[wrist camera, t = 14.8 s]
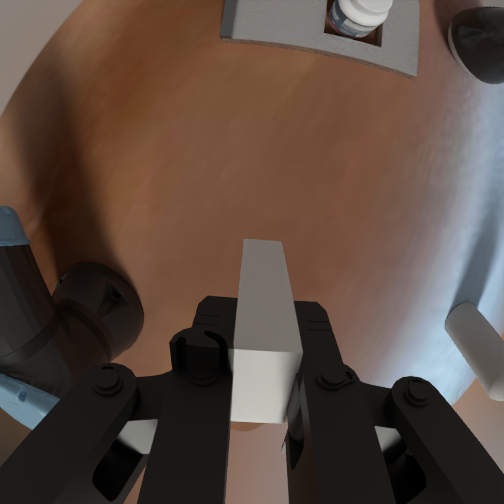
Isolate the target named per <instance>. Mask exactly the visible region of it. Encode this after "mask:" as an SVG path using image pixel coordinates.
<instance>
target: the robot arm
mask: <svg viewBox="0 0 504 504" xmlns="http://www.w3.org/2000/svg"><path fill="white" fill-rule="evenodd" d="M29 244H31V243H30V240H29V239H27V237H26V235H25V232H24V230H23V227H22V225H21V222H20V220H19V217H18V215H17V213H16V212H15V210H14V209H12V208H11V207H8V206H0V407H1V408H2V409H4V410H5V411H6V412H7V413H8V414H10V415H11V416H12V417H13V418H15V419H16V420H18V421H19V422H21V423H22V424H24V425H26V426H27V427H29V428H30V429H32V431H31V432H30V433H29V435H28V436H27V437H26V438H25V439H24V440H23V441H22V443H21V444H20V445H19V446H18V447H17V448H16V449H15V451H14V452H13V453H12V454H11V455H10V456H9V458H8V459H7V460H6V461H5V462H4V464H3V465H2V466H1V467H0V504H123V503H124V501H125V499H126V498H127V496H128V494H129V493H130V491H131V489H132V488H133V486H134V484H135V483H136V481H137V479H138V478H139V476H140V474H141V473H142V471H143V469H144V468H145V466H146V469H145V473H144V477H143V481H142V485H141V489H140V493H139V497H138V501H137V504H225V496H226V495H225V494H226V481H227V466H228V453H229V439H230V423H231V421H240V422H259V423H285V420H286V416H287V418H288V430H287V433H286V436H285V439H284V442H283V445H282V450H281V453H285V451H286V460H287V477H288V494H289V504H504V474H503V472H502V471H501V470H500V469H499V467H498V466H497V464H496V463H495V462H494V460H493V459H492V458H491V456H490V455H489V454H488V452H487V451H486V450H485V448H484V447H483V446H482V445H481V443H480V442H479V441H478V439H477V438H476V437H475V436H474V435H473V433H472V432H471V430H470V429H469V428H468V427H467V425H466V424H465V423H464V422H463V420H462V419H461V418H460V417H459V416H458V414H457V413H456V412H455V411H454V409H453V408H452V407H451V406H450V404H449V403H448V402H447V401H446V400H445V398H444V397H443V396H442V395H441V394H440V392H439V391H438V390H437V389H436V388H435V387H434V386H433V385H432V384H431V383H430V382H429V381H426V380H424V379H422V378H420V377H414V376H408V377H402V378H400V379H399V380H397V381H396V382H395V383H394V385H393V387H392V388H385V387H380V386H374V385H370V384H367V383H363V382H361V381H360V380H359V378H358V376H357V374H356V373H355V371H354V370H352V369H351V368H350V367H349V366H347V365H345V364H343V361H342V358H341V354H340V351H339V348H338V345H337V342H336V339H335V336H334V333H333V332H332V327H331V324H330V321H329V318H328V315H327V312H326V310H325V309H324V308H323V307H322V306H321V305H320V304H319V303H318V302H307V301H293V297H292V292H291V287H290V281H289V276H288V272H287V267H286V262H285V257H284V252H283V247H282V242H280V241H267V240H254V239H244V245H243V254H242V264H241V274H240V283H239V293H238V298H230V297H218V296H207V297H206V298H204V299H203V300H202V301H201V302H200V303H199V304H198V307H197V311H196V315H195V318H194V321H193V325H192V327H191V328H187V329H184V330H182V331H180V332H178V333H177V334H175V335H174V336H173V338H172V339H171V341H170V342H169V345H170V353H171V362H172V370H171V371H169V372H166V373H164V374H161V375H155V376H146V377H136V376H135V375H134V373H133V372H132V370H130V369H129V368H127V367H126V366H124V365H121V364H117V363H110V362H111V361H112V360H114V359H115V358H116V357H118V356H119V355H120V354H121V353H122V352H124V351H125V350H127V349H128V348H130V347H131V346H132V345H133V344H134V343H135V342H136V340H137V338H138V336H139V334H140V333H141V331H142V328H143V323H144V315H143V309H142V306H141V303H140V301H139V299H138V297H137V295H136V293H135V292H134V290H133V289H132V288H131V286H130V285H129V284H128V283H127V282H126V281H125V280H124V279H123V278H122V277H121V276H120V275H118V274H117V273H115V272H114V271H112V270H111V269H109V268H107V267H105V266H102V265H99V264H96V263H80V264H77V265H74V266H73V267H71V268H70V269H69V270H68V271H67V272H66V273H64V274H63V275H62V277H61V278H60V279H59V281H58V283H57V285H56V288H55V290H54V292H53V294H52V297H51V295H50V293H49V290H48V288H47V286H46V284H45V282H44V279H43V277H42V275H41V272H40V270H39V268H38V265H37V263H36V260H35V258H34V255H33V253H32V250H31V248H30V245H29ZM146 464H147V465H146Z"/></svg>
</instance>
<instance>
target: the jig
mask: <svg viewBox="0 0 504 504" xmlns="http://www.w3.org/2000/svg"><path fill="white" fill-rule="evenodd" d="M326 6H327V0H225V6H224V12H223V18H222V24H221V30H220V38H221V40H222V41H223V43H237V44H250V45H261V46H270V47H278V48H285V49H292V50H298V51H304V52H310V53H315V54H320V55H325V56H330V57H335V58H339V59H344V60H348V61H352V62H356V63H360V64H363V65H367V66H371V67H374V68H378V69H381V70H384V71H387V72H391V73H394V74H397V75H400V76H403V77H406V78H409V79H410V78H414V77H417V65H418V48H419V1H417V0H393V3H392V6H391V8H390V9H389V11H388V16H387V18H386V19H385V21H384V22H383V23H382V24H380V25H379V26H378V27H377V39H376V46H374V45H371V44H367V43H364V42H360V41H356V40H353V39H349V38H345V37H340V36H336V35H332V34H327V33H324V26H325V16H326Z"/></svg>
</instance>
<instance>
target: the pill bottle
mask: <svg viewBox="0 0 504 504" xmlns="http://www.w3.org/2000/svg"><path fill="white" fill-rule="evenodd" d="M392 3H393V0H335V2H334V3H333V5H332V6H331V8H330V10H329V14H328V19H329V22H330V24H331V26H332V28H333V29H334V30H335V31H336V32H337V33H339V34H340V35H342V36H344V37H347V38H351V39H359V38H362V37H365V36H366V35H368V34H369V33H370V32H371V31H373V30H374V29H375V28H376V27H378V26H379V25H380V24H382V23H383V22H384V21H385V19H386V18H387V16H388V11H389V9H390V8H391V6H392Z"/></svg>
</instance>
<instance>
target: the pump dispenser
mask: <svg viewBox="0 0 504 504" xmlns="http://www.w3.org/2000/svg"><path fill="white" fill-rule="evenodd" d="M448 42H449V46H450V49H451V52H452V54H453V56H454V58H455V60H456V61H457V63H458V64H459V65H460V66H461V67H462V68H463V69H464V70H465V71H466V72H467V73H468V74H470V75H471V76H473V77H475V78H477V79H479V80H481V81H482V82H485V83H488V84H501V83H504V8H502V7H475V8H469V9H465V10H462V11H460V12H458V13H457V14H456V15H455V16H454V18H453V20H452V23H451V24H450V27H449V31H448Z"/></svg>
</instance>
